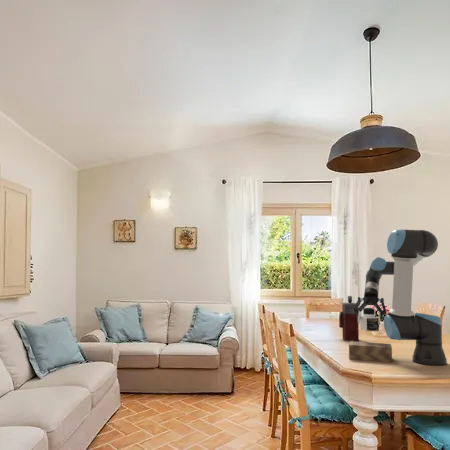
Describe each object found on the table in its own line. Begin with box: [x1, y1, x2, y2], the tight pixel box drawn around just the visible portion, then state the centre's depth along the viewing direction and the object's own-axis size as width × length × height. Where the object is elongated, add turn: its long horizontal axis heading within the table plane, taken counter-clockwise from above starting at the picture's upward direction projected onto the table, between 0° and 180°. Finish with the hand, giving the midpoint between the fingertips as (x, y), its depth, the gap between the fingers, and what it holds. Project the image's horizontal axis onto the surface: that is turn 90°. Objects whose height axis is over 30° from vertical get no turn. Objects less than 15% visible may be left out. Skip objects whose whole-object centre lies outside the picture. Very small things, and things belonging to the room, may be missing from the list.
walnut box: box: [348, 341, 393, 363], centre depth 218 cm, size 20×12×7 cm, turn 72°
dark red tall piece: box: [338, 295, 360, 342], centre depth 281 cm, size 9×11×28 cm
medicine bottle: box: [359, 307, 380, 332], centre depth 231 cm, size 7×7×12 cm
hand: (368, 322), depth 228 cm, fingers closed on medicine bottle, 10 cm apart
